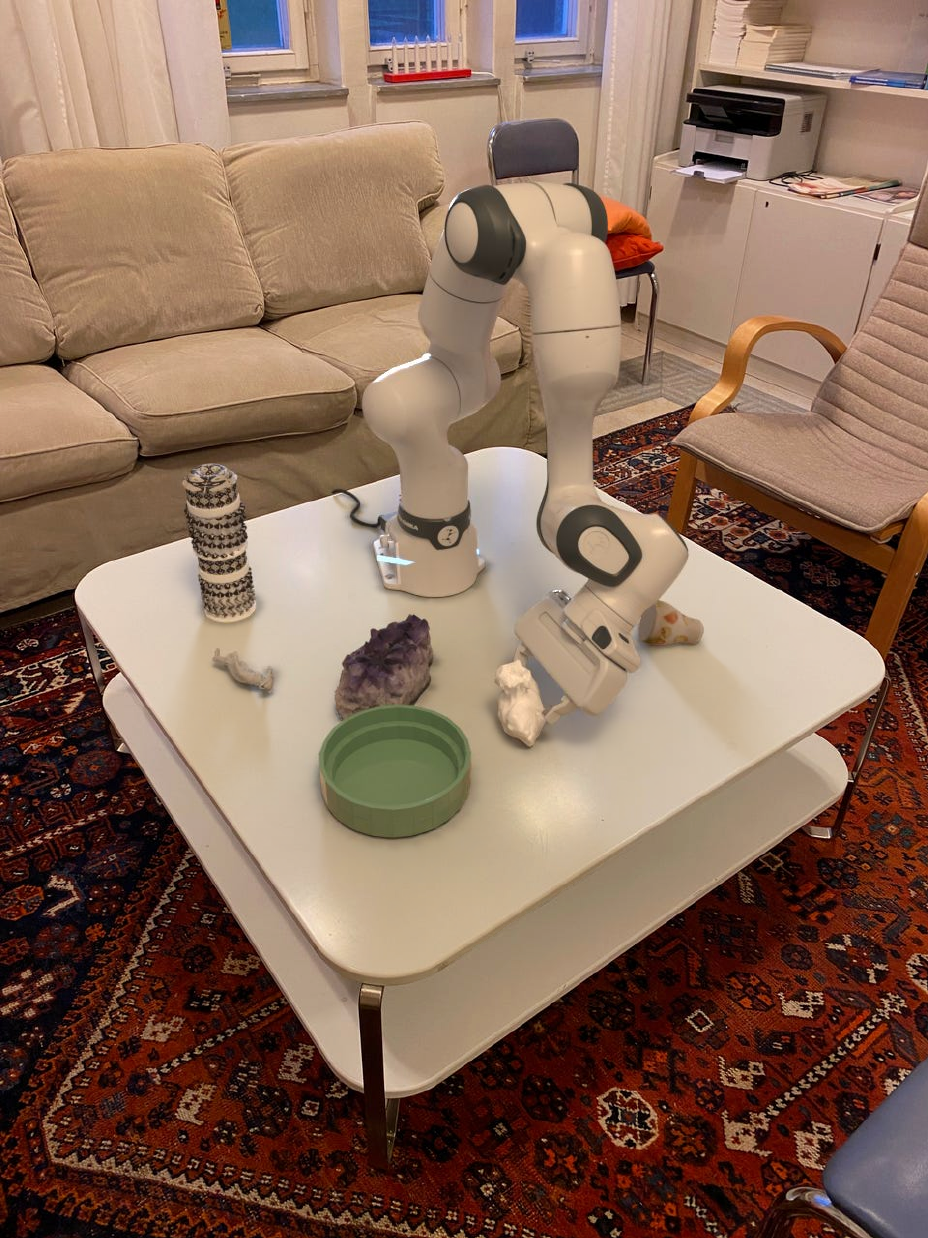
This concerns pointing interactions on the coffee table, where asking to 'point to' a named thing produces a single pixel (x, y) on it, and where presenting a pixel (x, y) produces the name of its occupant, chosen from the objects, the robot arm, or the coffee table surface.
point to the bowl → (395, 770)
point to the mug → (668, 626)
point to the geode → (386, 668)
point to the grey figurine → (245, 671)
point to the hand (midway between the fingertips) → (528, 697)
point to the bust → (519, 703)
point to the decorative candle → (219, 542)
